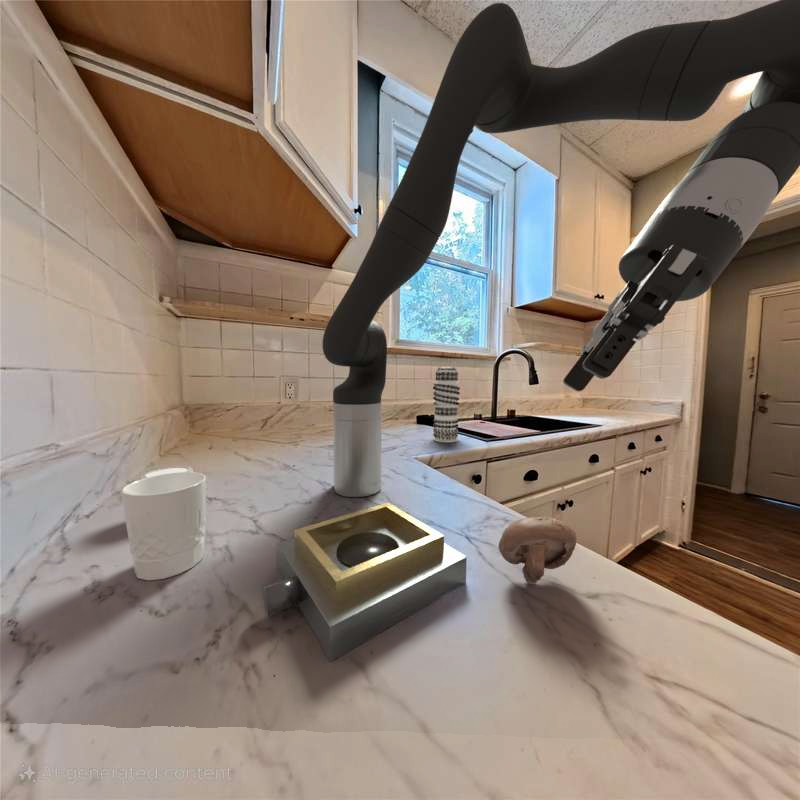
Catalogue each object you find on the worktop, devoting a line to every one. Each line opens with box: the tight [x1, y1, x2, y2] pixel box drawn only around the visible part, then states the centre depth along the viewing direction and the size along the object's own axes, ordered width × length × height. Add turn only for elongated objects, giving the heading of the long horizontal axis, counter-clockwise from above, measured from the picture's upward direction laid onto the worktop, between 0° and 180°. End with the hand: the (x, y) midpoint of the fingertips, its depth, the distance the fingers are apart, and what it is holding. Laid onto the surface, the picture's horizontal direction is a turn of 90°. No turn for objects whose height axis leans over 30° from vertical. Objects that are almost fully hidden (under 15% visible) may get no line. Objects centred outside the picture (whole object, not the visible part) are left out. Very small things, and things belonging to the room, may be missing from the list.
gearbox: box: [262, 502, 468, 663], centre depth 35 cm, size 17×19×5 cm
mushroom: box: [498, 516, 577, 586], centre depth 34 cm, size 8×6×8 cm
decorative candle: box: [432, 366, 461, 443], centre depth 107 cm, size 9×9×25 cm
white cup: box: [121, 471, 207, 581], centre depth 37 cm, size 8×8×10 cm
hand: (580, 381), depth 30 cm, fingers open, 8 cm apart
